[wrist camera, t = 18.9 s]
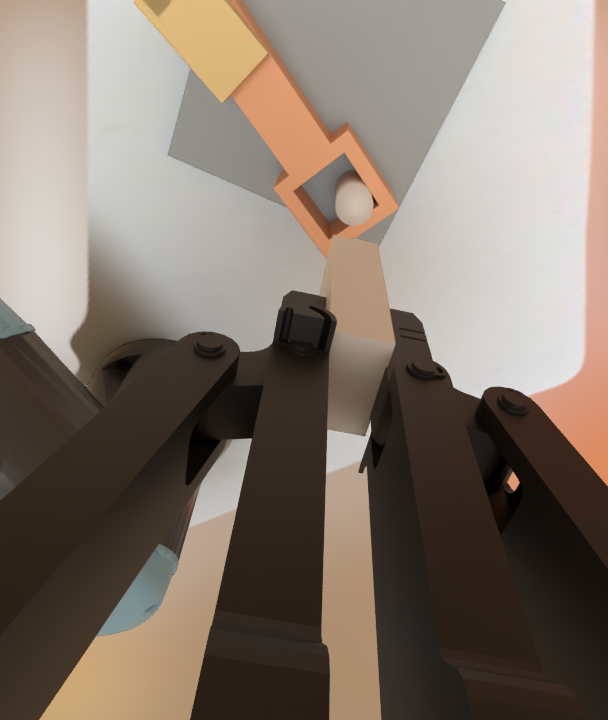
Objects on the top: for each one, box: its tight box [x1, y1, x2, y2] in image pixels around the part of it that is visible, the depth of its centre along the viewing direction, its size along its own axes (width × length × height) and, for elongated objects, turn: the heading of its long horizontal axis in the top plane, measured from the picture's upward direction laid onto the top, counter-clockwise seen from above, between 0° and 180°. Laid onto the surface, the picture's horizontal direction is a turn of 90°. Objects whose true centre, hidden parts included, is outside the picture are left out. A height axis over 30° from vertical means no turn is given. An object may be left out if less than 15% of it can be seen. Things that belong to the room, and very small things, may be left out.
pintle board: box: [134, 0, 506, 247], centre depth 35 cm, size 18×22×7 cm
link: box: [228, 0, 399, 258], centre depth 37 cm, size 17×6×4 cm, turn 37°
